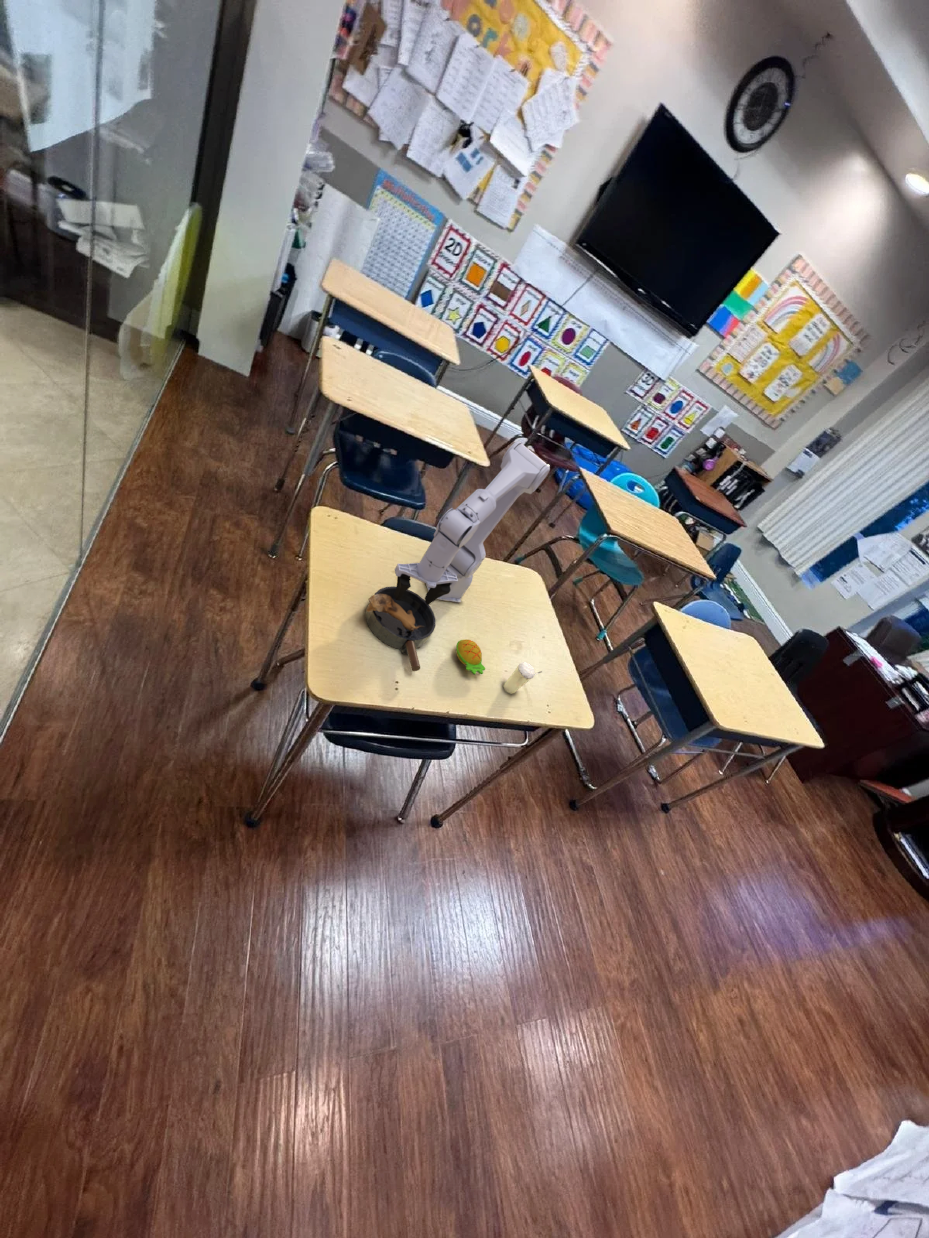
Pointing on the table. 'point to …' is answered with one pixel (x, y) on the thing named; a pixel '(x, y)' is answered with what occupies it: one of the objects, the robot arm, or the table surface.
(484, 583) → the table surface
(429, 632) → the pan
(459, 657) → the toy pineapple
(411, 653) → the pan handle
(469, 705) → the table surface
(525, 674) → the milkshake
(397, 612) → the lion figurine
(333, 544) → the table surface
